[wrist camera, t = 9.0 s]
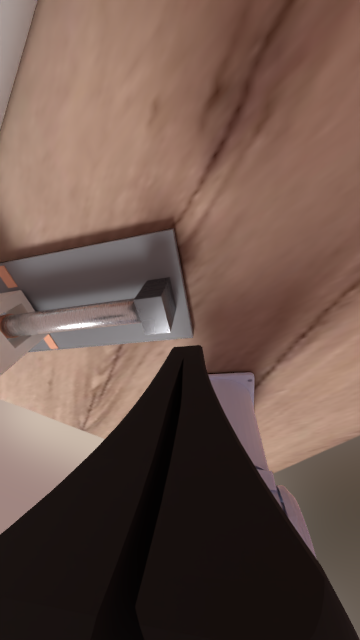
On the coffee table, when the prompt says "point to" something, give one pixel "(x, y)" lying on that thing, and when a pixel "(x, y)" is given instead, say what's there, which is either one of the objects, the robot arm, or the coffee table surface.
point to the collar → (8, 352)
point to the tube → (12, 43)
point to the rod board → (100, 294)
